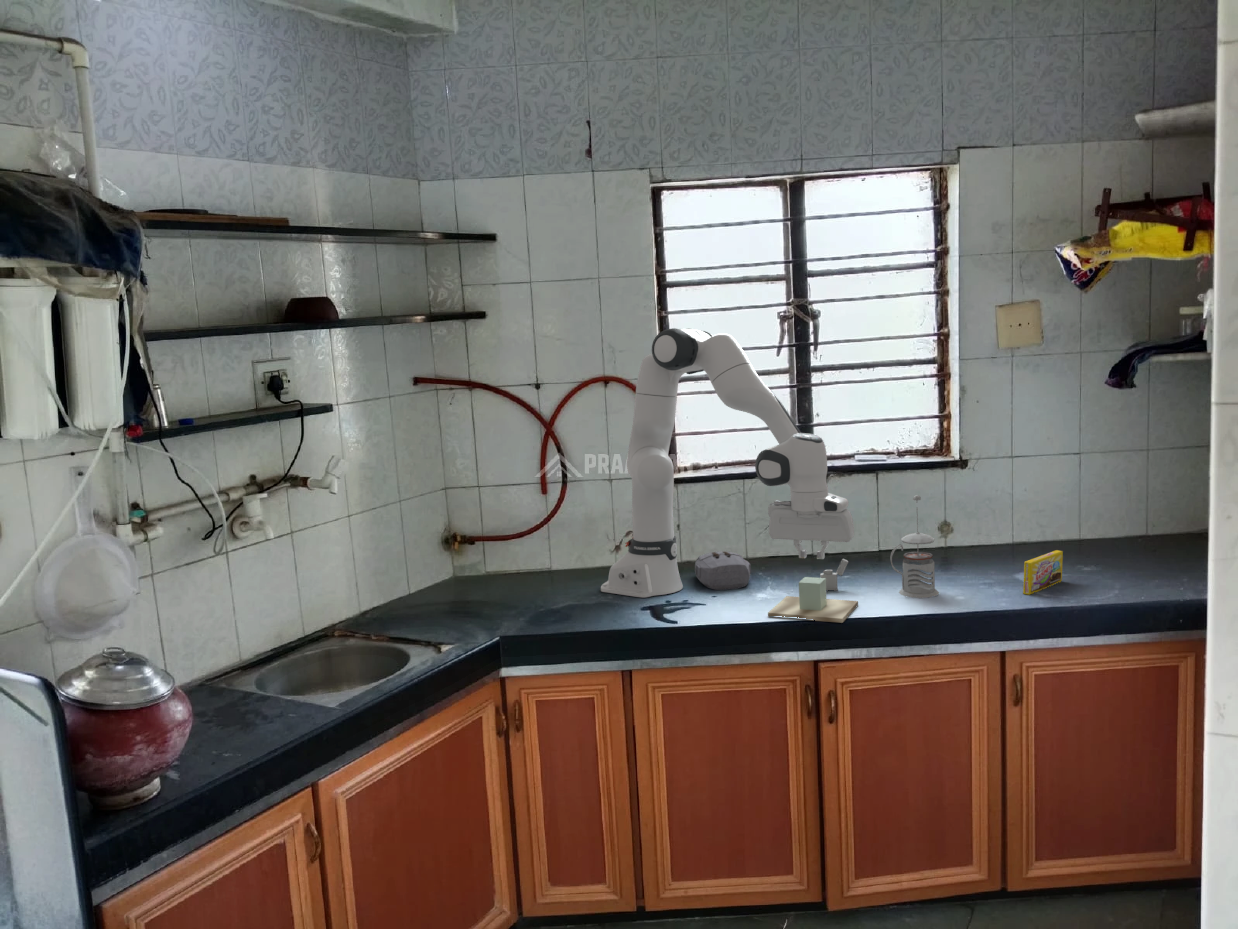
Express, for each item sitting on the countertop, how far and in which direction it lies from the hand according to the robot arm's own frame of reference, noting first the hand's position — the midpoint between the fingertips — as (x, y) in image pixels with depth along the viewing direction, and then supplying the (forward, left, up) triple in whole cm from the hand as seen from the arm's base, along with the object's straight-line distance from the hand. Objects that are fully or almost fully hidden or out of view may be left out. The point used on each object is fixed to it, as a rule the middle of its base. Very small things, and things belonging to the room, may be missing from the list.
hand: (811, 558), depth 238 cm
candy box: (+49, +34, -14) cm, 61 cm away
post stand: (0, 0, -13) cm, 13 cm away
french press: (+20, +22, -13) cm, 33 cm away
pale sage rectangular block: (0, 0, -12) cm, 12 cm away
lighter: (0, +20, -13) cm, 24 cm away
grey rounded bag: (-32, +21, -14) cm, 41 cm away
